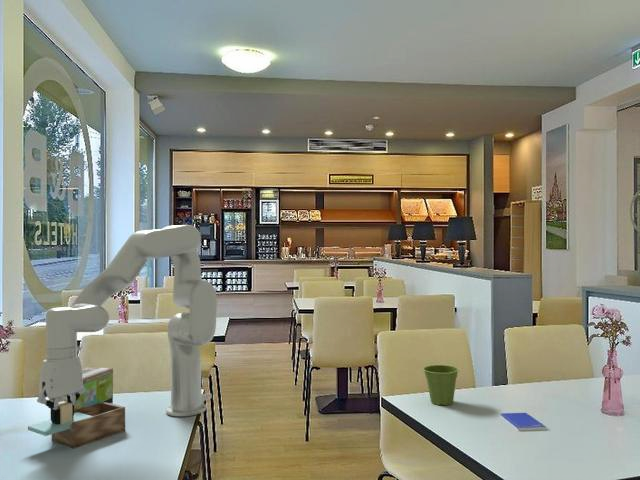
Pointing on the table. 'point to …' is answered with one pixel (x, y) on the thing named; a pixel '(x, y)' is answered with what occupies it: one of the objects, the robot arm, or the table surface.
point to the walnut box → (93, 425)
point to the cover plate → (55, 427)
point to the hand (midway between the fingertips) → (62, 420)
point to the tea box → (95, 387)
